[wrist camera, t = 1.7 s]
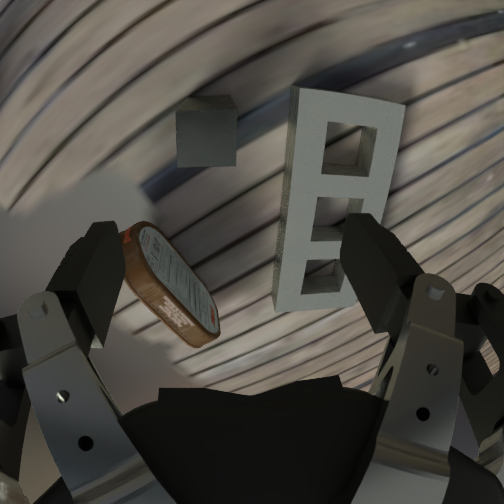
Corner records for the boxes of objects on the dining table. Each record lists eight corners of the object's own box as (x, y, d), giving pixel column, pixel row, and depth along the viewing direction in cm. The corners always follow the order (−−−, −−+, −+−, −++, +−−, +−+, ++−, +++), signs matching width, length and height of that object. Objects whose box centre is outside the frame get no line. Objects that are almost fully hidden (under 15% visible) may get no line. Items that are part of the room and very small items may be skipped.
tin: (123, 217, 29) (100, 268, 22) (147, 202, 29) (127, 251, 22) (202, 308, 37) (201, 364, 31) (223, 298, 37) (227, 354, 30)
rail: (271, 294, 37) (275, 312, 35) (291, 85, 24) (299, 87, 21) (346, 290, 38) (354, 306, 36) (389, 100, 25) (405, 105, 22)
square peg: (189, 135, 25) (177, 167, 18) (188, 96, 23) (175, 110, 16) (229, 134, 26) (235, 166, 18) (230, 95, 24) (237, 109, 16)
